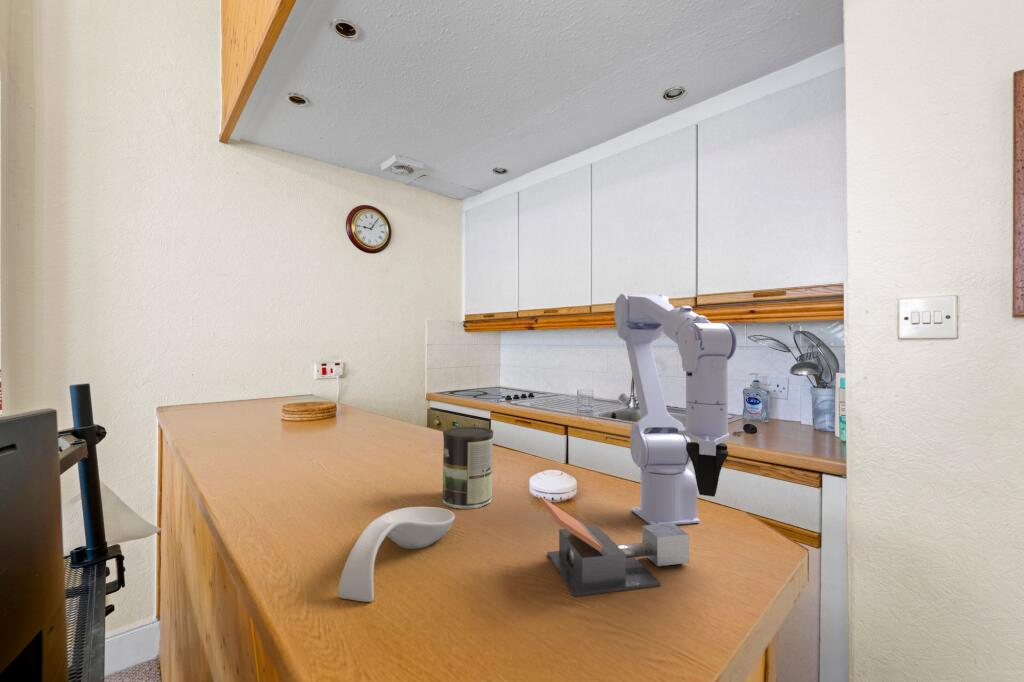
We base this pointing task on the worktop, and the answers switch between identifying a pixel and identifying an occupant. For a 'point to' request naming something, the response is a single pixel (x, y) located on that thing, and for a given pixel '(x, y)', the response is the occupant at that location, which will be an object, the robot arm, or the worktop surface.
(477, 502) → the coffee can
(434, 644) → the worktop surface
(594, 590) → the hitch block
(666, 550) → the hitch pin
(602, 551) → the plate
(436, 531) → the spoon rest
